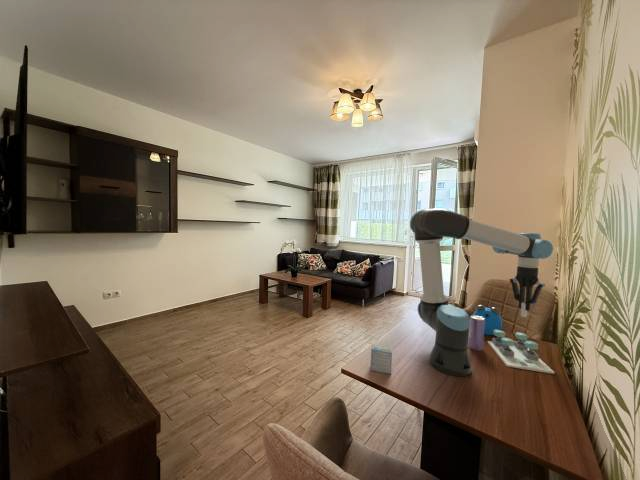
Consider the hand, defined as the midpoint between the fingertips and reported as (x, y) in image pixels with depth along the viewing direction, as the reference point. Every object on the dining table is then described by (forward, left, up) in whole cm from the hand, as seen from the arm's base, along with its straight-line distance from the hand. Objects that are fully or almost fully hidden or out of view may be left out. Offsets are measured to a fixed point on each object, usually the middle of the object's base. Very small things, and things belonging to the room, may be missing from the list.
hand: (523, 316), depth 118 cm
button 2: (0, -9, -13) cm, 16 cm away
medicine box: (-63, -38, -16) cm, 75 cm away
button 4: (0, 0, -13) cm, 13 cm away
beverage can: (-21, -6, -16) cm, 27 cm away
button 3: (-9, 0, -13) cm, 16 cm away
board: (-5, -8, -16) cm, 19 cm away
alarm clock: (-10, +15, -16) cm, 24 cm away
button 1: (-9, -9, -13) cm, 18 cm away
